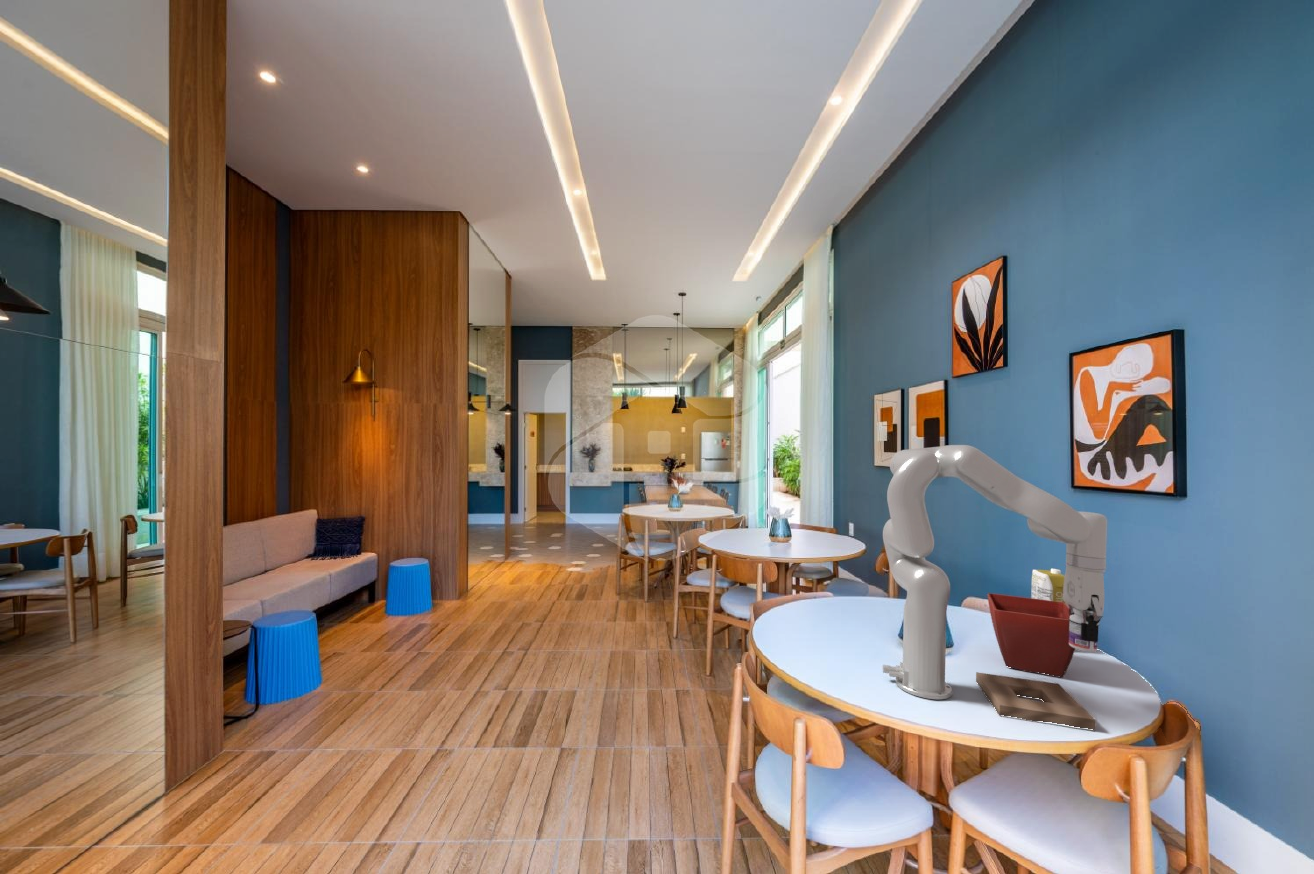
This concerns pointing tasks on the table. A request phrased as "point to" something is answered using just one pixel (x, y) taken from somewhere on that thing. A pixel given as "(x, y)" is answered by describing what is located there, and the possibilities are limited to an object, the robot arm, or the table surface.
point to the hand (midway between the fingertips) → (1082, 635)
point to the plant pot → (1032, 633)
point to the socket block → (1053, 709)
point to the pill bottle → (1079, 633)
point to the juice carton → (1048, 585)
